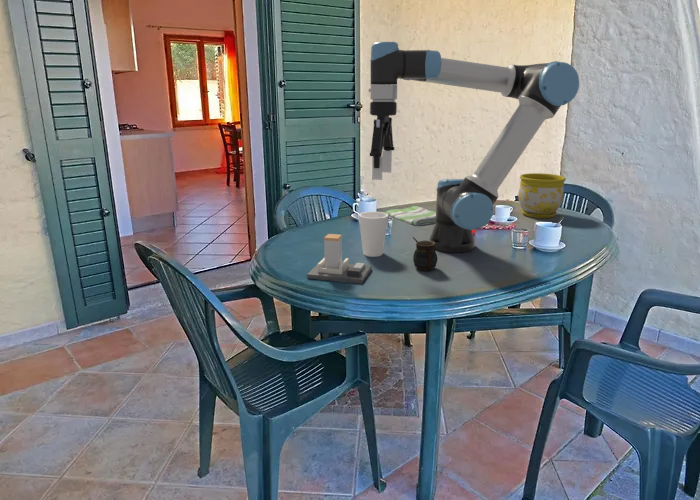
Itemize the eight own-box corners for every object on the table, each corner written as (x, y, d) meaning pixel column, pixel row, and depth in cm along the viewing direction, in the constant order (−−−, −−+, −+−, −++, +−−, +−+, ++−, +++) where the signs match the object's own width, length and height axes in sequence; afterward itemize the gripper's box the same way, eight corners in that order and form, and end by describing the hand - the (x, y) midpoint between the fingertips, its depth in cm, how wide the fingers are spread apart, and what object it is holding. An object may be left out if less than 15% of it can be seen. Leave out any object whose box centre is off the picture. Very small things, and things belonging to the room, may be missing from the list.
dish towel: (414, 227, 200) (414, 218, 199) (383, 215, 219) (383, 207, 218) (449, 222, 208) (449, 213, 207) (416, 210, 227) (416, 203, 226)
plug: (342, 267, 149) (341, 234, 146) (338, 272, 146) (337, 238, 143) (329, 266, 150) (328, 233, 147) (324, 270, 147) (324, 237, 144)
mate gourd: (441, 271, 150) (442, 238, 147) (417, 274, 148) (418, 241, 145) (431, 263, 157) (432, 232, 154) (408, 266, 155) (408, 234, 152)
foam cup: (367, 259, 160) (367, 219, 156) (353, 251, 168) (353, 213, 164) (393, 255, 164) (394, 216, 160) (378, 247, 172) (378, 210, 168)
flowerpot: (509, 210, 225) (512, 173, 220) (548, 209, 227) (552, 172, 222) (527, 220, 208) (531, 180, 203) (569, 219, 210) (574, 179, 205)
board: (371, 269, 151) (371, 257, 150) (361, 283, 140) (361, 270, 139) (320, 264, 156) (320, 253, 154) (307, 278, 144) (306, 265, 143)
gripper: (379, 99, 157) (378, 169, 163) (359, 101, 134) (359, 182, 140) (404, 100, 155) (401, 170, 161) (387, 101, 132) (386, 183, 138)
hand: (382, 175), depth 151 cm, fingers open, 13 cm apart
